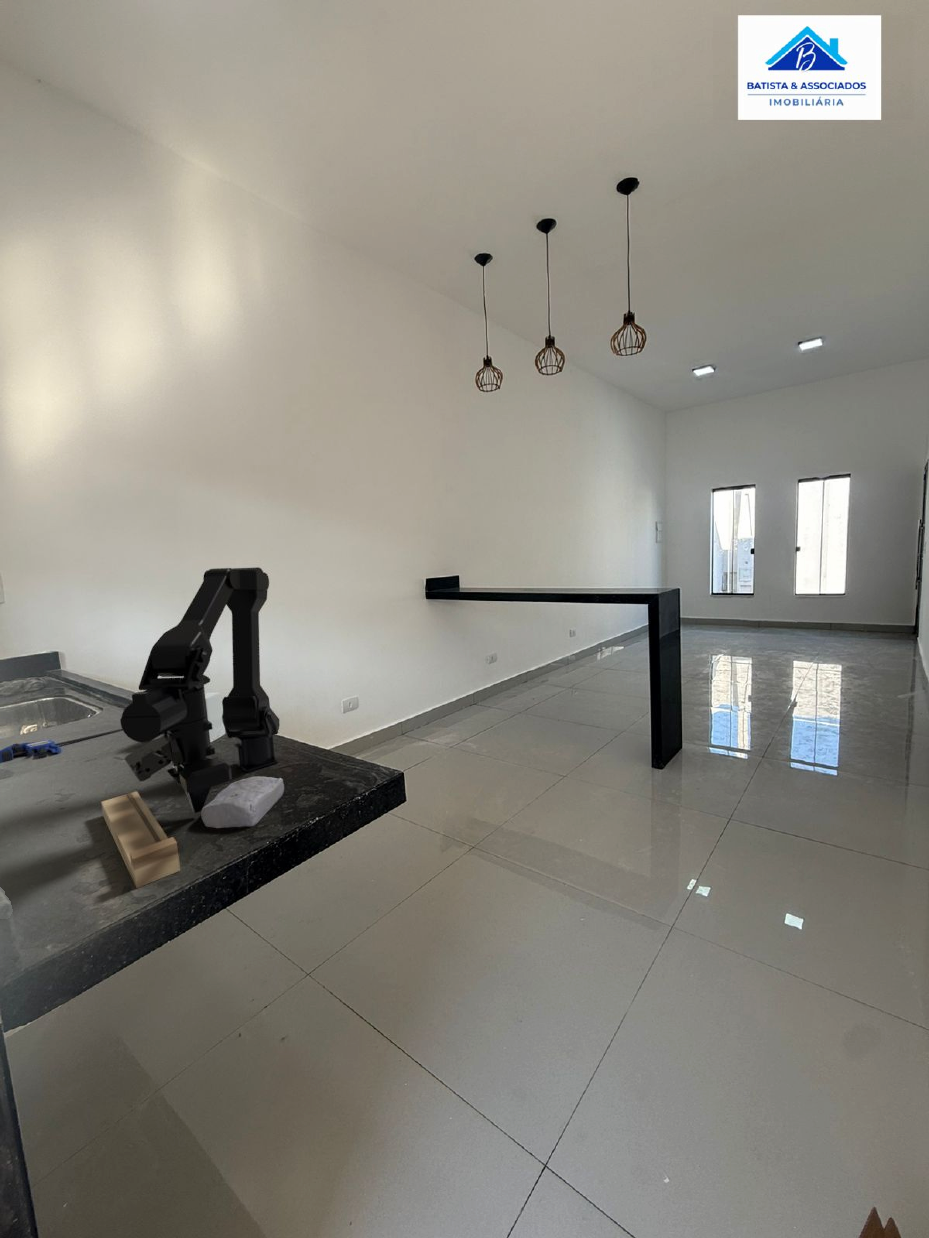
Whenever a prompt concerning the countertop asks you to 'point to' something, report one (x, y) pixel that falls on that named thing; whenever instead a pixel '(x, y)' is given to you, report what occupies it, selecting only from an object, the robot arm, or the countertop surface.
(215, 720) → the skincare box
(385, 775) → the countertop surface
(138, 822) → the wooden grooved rail
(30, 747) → the bar clamp
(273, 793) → the stone block
